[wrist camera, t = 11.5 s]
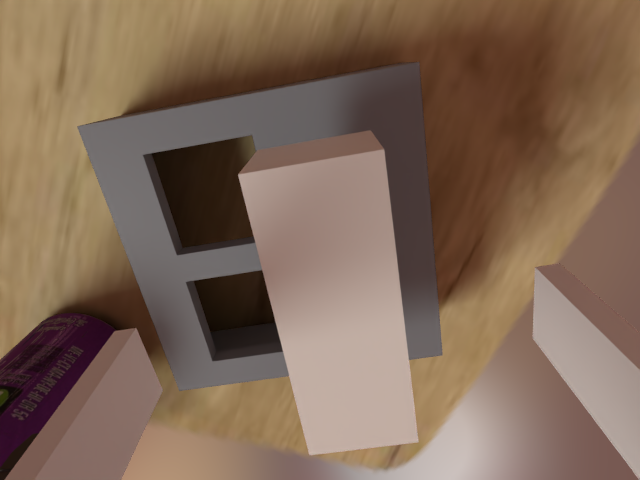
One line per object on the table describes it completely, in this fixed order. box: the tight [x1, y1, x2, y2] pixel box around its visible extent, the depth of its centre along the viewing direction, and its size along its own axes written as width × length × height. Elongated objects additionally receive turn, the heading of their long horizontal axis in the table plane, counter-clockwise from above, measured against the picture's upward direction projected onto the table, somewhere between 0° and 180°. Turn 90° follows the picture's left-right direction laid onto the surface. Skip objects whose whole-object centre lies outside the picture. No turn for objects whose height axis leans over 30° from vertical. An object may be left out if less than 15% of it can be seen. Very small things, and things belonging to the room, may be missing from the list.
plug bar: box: [238, 130, 418, 455], centre depth 21 cm, size 12×4×12 cm, turn 10°
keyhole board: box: [77, 62, 442, 391], centre depth 24 cm, size 16×16×4 cm
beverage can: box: [0, 313, 117, 467], centre depth 25 cm, size 7×7×12 cm
